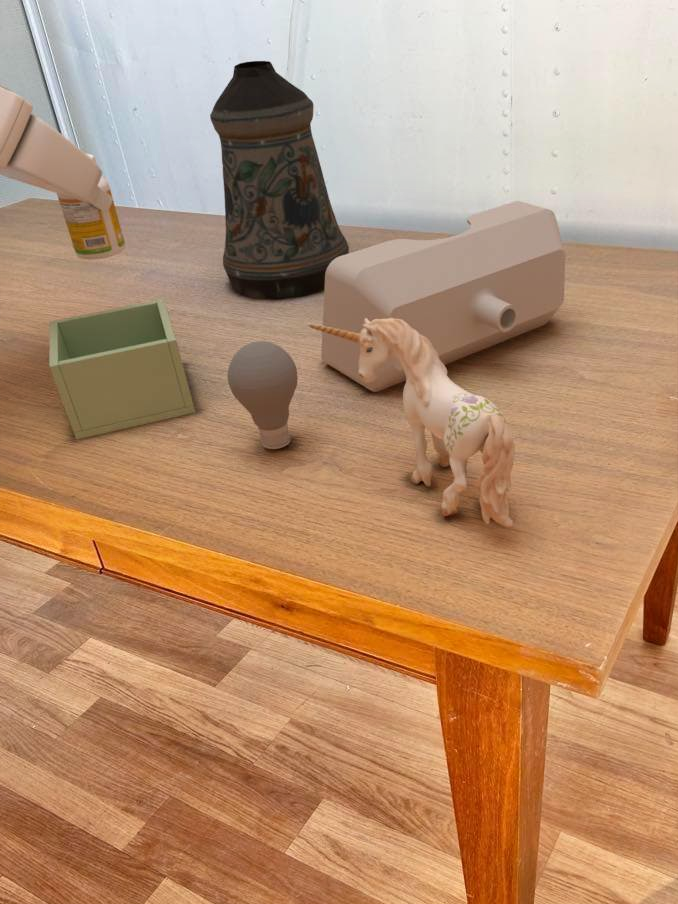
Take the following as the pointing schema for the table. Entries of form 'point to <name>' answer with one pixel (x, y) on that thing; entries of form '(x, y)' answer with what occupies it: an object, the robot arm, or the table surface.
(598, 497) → the table surface
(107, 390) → the bin
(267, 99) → the brown decorated vase
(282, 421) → the light bulb
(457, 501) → the unicorn figurine
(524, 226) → the tank
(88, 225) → the supplement bottle
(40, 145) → the robot arm
